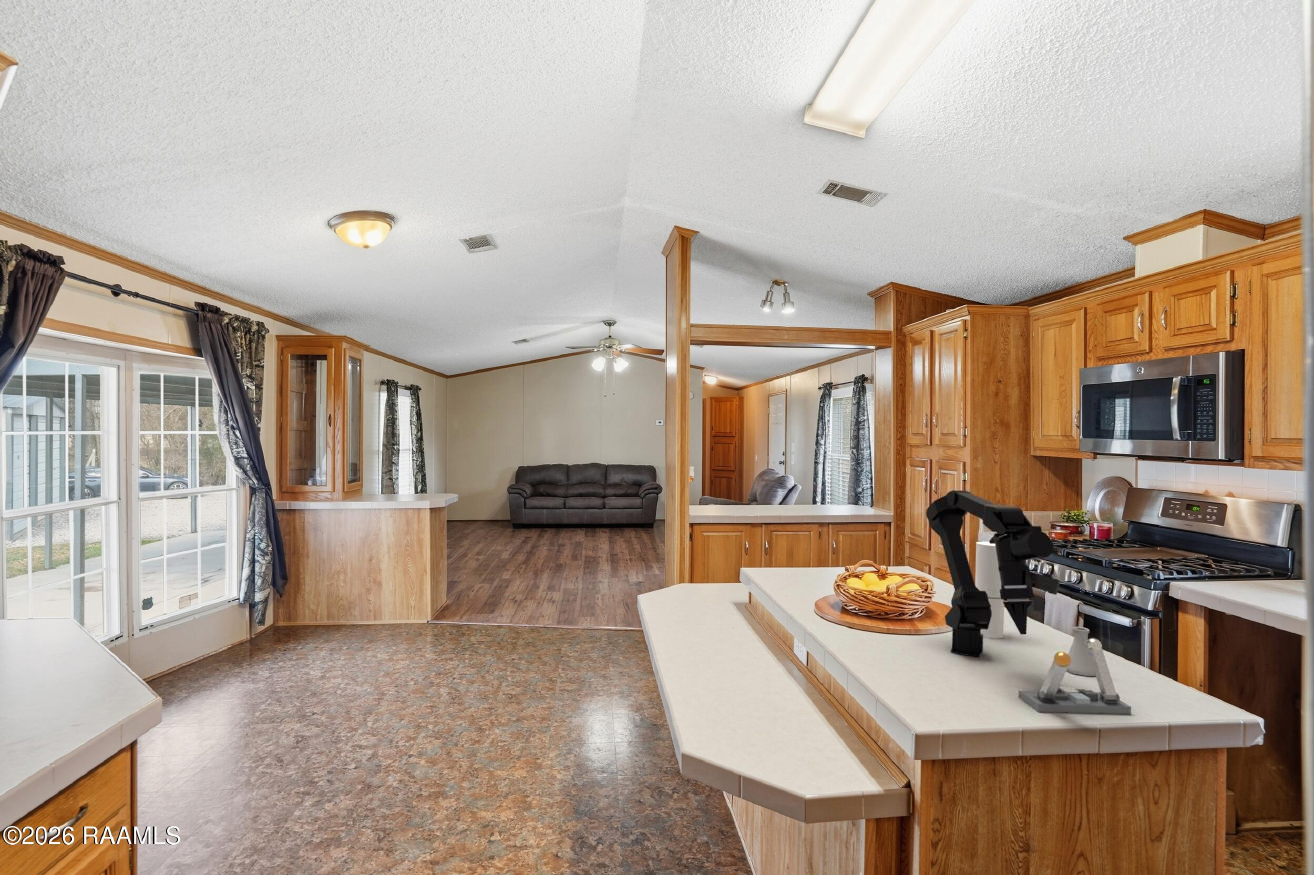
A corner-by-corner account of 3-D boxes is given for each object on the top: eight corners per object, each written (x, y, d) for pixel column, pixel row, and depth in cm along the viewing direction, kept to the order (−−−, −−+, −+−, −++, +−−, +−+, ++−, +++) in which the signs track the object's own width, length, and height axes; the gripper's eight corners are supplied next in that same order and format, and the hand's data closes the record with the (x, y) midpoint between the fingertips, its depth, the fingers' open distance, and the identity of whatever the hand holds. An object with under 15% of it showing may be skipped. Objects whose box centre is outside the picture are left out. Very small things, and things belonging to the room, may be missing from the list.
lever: (1099, 702, 128) (1080, 639, 134) (1113, 702, 128) (1094, 640, 134) (1108, 700, 125) (1088, 636, 132) (1122, 700, 125) (1102, 637, 132)
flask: (1105, 678, 144) (1106, 634, 144) (1069, 675, 146) (1070, 631, 146) (1090, 667, 151) (1091, 625, 151) (1056, 664, 153) (1057, 622, 153)
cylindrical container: (1004, 633, 177) (1006, 543, 177) (1002, 640, 171) (1004, 546, 171) (975, 629, 181) (977, 540, 181) (972, 635, 175) (974, 543, 175)
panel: (1018, 697, 132) (1018, 683, 132) (1106, 699, 132) (1106, 685, 132) (1038, 711, 125) (1038, 697, 125) (1130, 714, 125) (1131, 699, 125)
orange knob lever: (1034, 692, 129) (1053, 648, 123) (1048, 692, 129) (1068, 648, 123) (1041, 703, 126) (1061, 659, 121) (1056, 704, 126) (1076, 660, 121)
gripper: (1054, 556, 133) (1068, 635, 128) (1052, 563, 148) (1064, 633, 144) (994, 559, 138) (1006, 635, 134) (998, 565, 154) (1008, 633, 149)
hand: (1023, 634), depth 140 cm, fingers closed
